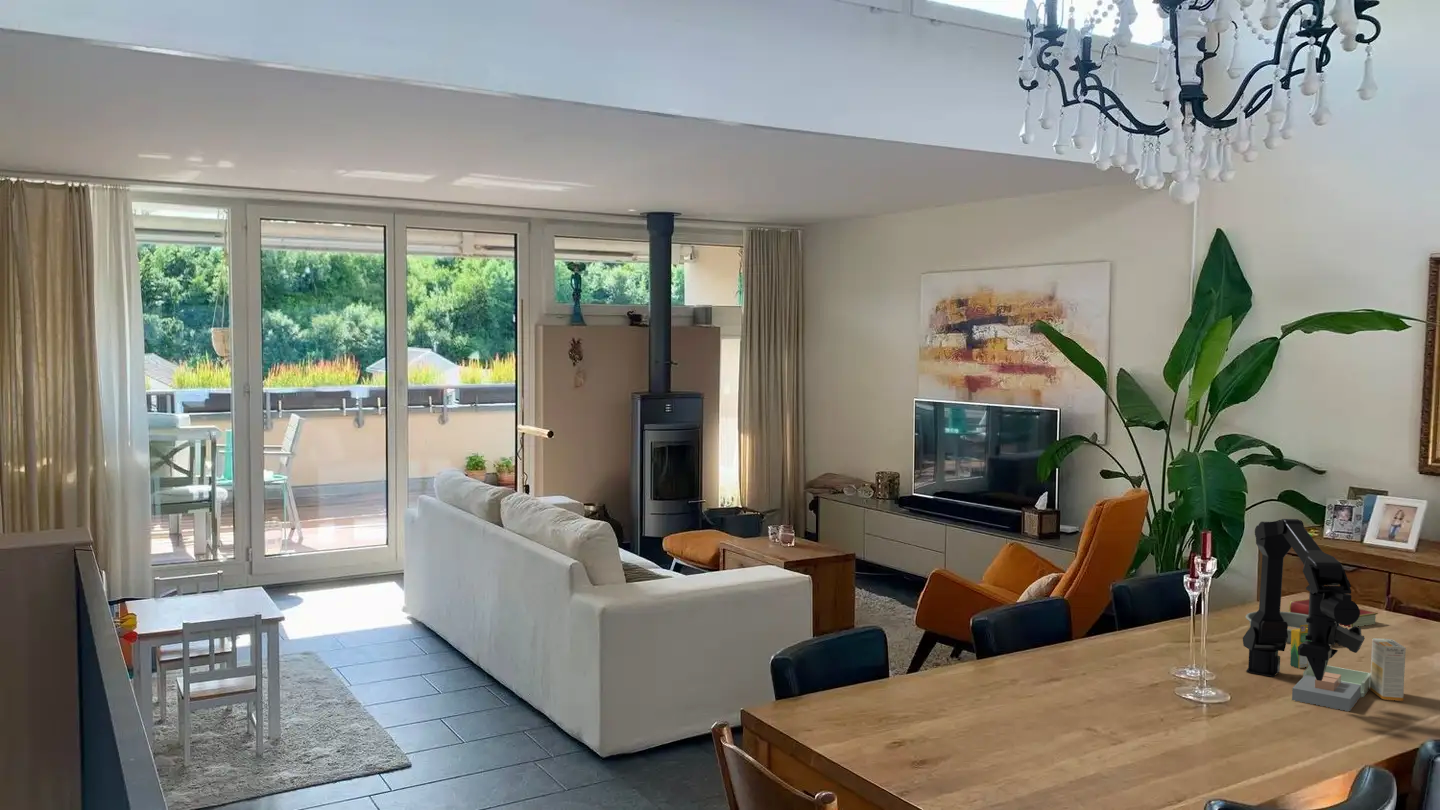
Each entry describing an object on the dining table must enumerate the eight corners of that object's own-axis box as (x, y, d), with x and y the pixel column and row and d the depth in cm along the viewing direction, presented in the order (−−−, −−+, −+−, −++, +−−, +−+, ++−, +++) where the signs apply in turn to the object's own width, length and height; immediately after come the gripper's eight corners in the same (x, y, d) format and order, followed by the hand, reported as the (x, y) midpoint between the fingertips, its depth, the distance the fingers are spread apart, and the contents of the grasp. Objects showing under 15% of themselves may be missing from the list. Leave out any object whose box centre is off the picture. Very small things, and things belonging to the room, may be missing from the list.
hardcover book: (1351, 629, 327) (1352, 615, 327) (1289, 613, 346) (1289, 600, 346) (1377, 625, 332) (1377, 612, 332) (1313, 610, 351) (1314, 597, 351)
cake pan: (1357, 648, 306) (1358, 632, 306) (1270, 646, 306) (1270, 630, 306) (1311, 625, 330) (1311, 610, 330) (1230, 624, 331) (1230, 609, 330)
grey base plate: (1291, 700, 258) (1292, 688, 258) (1304, 686, 268) (1305, 674, 268) (1349, 711, 250) (1349, 699, 250) (1360, 697, 261) (1360, 684, 261)
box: (1302, 686, 269) (1302, 672, 269) (1311, 676, 277) (1312, 662, 277) (1363, 697, 260) (1363, 683, 260) (1371, 687, 269) (1371, 673, 269)
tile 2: (1318, 683, 262) (1319, 675, 261) (1322, 679, 265) (1322, 671, 265) (1337, 686, 259) (1337, 678, 259) (1340, 682, 262) (1341, 674, 262)
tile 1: (1314, 687, 258) (1315, 679, 258) (1318, 683, 261) (1318, 675, 261) (1333, 691, 256) (1334, 682, 255) (1337, 687, 259) (1337, 679, 259)
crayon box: (1310, 663, 289) (1312, 620, 288) (1320, 666, 286) (1322, 623, 286) (1289, 665, 287) (1291, 622, 286) (1298, 668, 284) (1300, 625, 283)
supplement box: (1404, 701, 258) (1407, 647, 257) (1382, 700, 259) (1384, 646, 258) (1390, 691, 266) (1393, 638, 265) (1368, 689, 267) (1371, 637, 266)
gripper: (1354, 628, 239) (1351, 697, 240) (1369, 612, 253) (1366, 678, 254) (1298, 619, 246) (1295, 686, 247) (1316, 604, 260) (1313, 668, 261)
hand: (1319, 680), depth 252 cm, fingers closed
